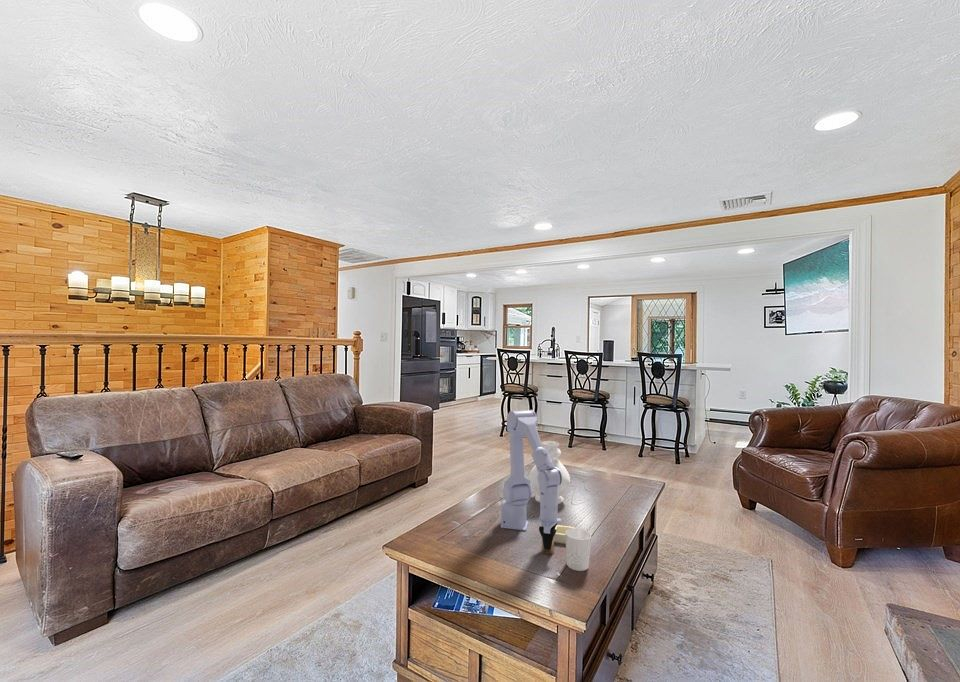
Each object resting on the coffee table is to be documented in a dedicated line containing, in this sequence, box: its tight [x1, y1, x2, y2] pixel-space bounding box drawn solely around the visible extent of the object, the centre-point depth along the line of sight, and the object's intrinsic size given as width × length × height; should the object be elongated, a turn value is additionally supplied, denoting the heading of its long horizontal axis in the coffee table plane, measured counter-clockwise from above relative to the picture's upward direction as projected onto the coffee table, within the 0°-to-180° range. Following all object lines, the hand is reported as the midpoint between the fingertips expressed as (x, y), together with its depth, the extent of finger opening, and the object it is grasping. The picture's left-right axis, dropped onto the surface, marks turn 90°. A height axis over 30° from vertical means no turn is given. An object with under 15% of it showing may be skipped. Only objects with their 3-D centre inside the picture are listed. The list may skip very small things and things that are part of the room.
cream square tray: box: [554, 524, 576, 545], centre depth 153 cm, size 8×8×3 cm
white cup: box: [565, 527, 592, 572], centre depth 135 cm, size 8×8×10 cm
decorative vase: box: [528, 440, 571, 505], centre depth 190 cm, size 18×18×25 cm
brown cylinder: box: [541, 537, 555, 556], centre depth 143 cm, size 4×4×7 cm
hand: (547, 545), depth 143 cm, fingers closed on brown cylinder, 4 cm apart
